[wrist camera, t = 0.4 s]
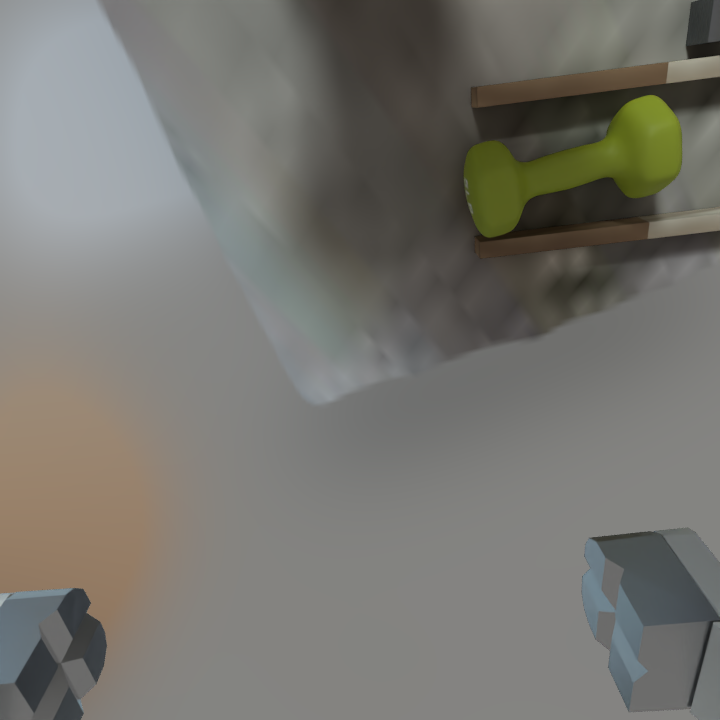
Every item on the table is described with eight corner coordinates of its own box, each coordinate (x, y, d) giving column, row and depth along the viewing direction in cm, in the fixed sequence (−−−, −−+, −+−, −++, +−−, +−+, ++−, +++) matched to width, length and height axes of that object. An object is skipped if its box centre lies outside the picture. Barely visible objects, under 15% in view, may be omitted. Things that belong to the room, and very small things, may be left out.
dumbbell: (467, 232, 50) (484, 251, 44) (452, 143, 47) (468, 150, 40) (646, 185, 49) (691, 199, 42) (644, 90, 45) (693, 89, 39)
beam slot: (471, 87, 45) (477, 86, 43) (789, 46, 44) (812, 43, 42) (474, 251, 51) (480, 258, 49) (754, 218, 50) (772, 224, 48)
